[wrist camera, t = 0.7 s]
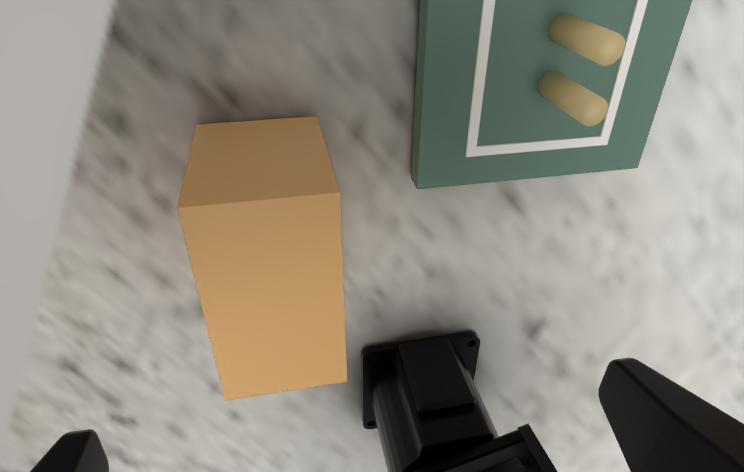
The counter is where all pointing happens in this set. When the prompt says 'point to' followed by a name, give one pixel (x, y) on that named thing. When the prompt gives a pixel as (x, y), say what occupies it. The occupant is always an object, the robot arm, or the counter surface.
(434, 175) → the board
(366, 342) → the counter surface
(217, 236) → the block
